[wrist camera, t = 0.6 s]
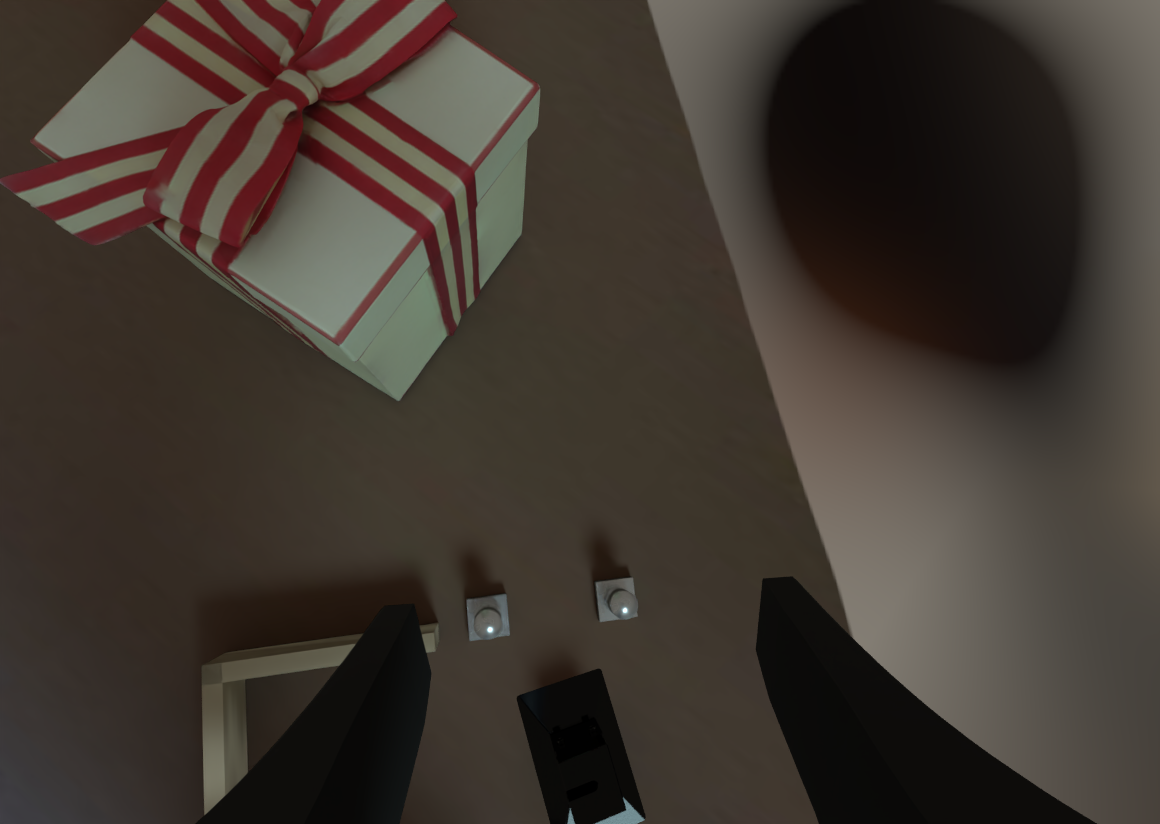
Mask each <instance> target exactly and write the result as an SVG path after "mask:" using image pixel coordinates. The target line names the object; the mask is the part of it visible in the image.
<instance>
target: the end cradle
mask: <svg viewBox="0 0 1160 824" xmlns="http://www.w3.org/2000/svg"><path fill="white" fill-rule="evenodd" d="M420 629H421V633H422V637H423V641H424V645H425V649H426V652H433V651H436V648H437V645H438V643H439V640H440V638H439V624H438V623H433V624H426V625H420ZM362 635H363V633H362V634H355V635H348V636H341V637H334V638H326V639H319V640H312V641H305V642H298V643H291V644H284V645H276V646H269V647H262V648H255V649H248V650H241V651H234V652H227V653H224V654H222V655H220V656H219V657H217V658H215V659H213V660H211V661H209V662H207V663H206V664H204V665H202V666H201V670H202V719H203V769H204V815H205V814H206V813H208V812H209V811H210V810H211V809H212V808H213V807H214V806H215V805H216V804H217V803H218V802H219V801H220V800H221V799H222V798H223V797H224V796H225V795H226V794H227V793H228V792H229V791H230V790H231V789H232V788H233V787H234V786H235V785H236V784H237V783H238V782H239V781H240V780H241V779H242V778H243V777H244V776H245V775H246V774H247V773H248V756H247V723H246V689H245V679H250V678H257V677H264V676H271V675H277V674H284V673H291V672H298V671H304V670H311V669H318V668H325V667H332V666H338V665H340V664H341V663H342V662H343V660H344V659H345V658H346V656H347V655H348V654H349V652H350V651H351V650H352V648H353V647H354V646H355V644H356V643H357V642H358V640H359V639H360V638H361V636H362Z"/></svg>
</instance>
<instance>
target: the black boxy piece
mask: <svg viewBox="0 0 1160 824" xmlns="http://www.w3.org/2000/svg"><path fill="white" fill-rule="evenodd" d="M517 702H518V706H519V710H520V713H521V717H522V721H523V724H524V728H525V732H526V735H527V739H528V743H529V746H530V750H531V754H532V758H533V761H534V765H535V769H536V772H537V776H538V780H539V783H540V787H541V791H542V794H543V798H544V802H545V806H546V809H547V813H548V817H549V820H550V824H637V823H639V822H641V821H643V820H645V813H644V810H643V806H642V803H641V800H640V796H639V793H638V790H637V786H636V783H635V780H634V776H633V773H632V770H631V767H630V763H629V760H628V757H627V753H626V750H625V747H624V743H623V740H622V737H621V733H620V730H619V727H618V724H617V720H616V717H615V714H614V710H613V707H612V704H611V700H610V697H609V694H608V690H607V687H606V684H605V681H604V677H603V674H602V671H601V669H596V670H593V671H590V672H587V673H584V674H581V675H578V676H575V677H572V678H569V679H566V680H563V681H560V682H557V683H554V684H551V685H548V686H545V687H542V688H539V689H536V690H533V691H530V692H527V693H524V694H522V695H519V696H518V697H517Z"/></svg>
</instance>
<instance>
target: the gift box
mask: <svg viewBox="0 0 1160 824" xmlns="http://www.w3.org/2000/svg"><path fill="white" fill-rule="evenodd" d="M455 18H457V14H456V13H455V12H454V11H453V9H452V8H451V7H450V6H449V5H448V3H447V2H446V1H445V0H167V1H166V2H165V3H164V4H163V5H162V6H161V7H160V8H159V9H158V10H157V11H156V12H155V13H154V14H153V15H152V16H151V17H150V18H149V19H148V20H147V21H146V23H145V24H144V25H143V26H142V27H141V28H139V29H138V30H137V31H136V32H135V33H134V34H133V35H132V36H131V37H130V40H129V41H128V43H127V44H126V45H125V46H123V47H122V48H121V49H120V50H119V51H118V52H117V53H116V54H115V55H114V56H113V57H112V58H111V59H110V60H109V61H108V62H107V63H106V64H105V65H104V66H103V67H102V68H101V69H100V70H99V71H98V72H97V73H96V74H95V75H94V76H93V77H92V78H91V79H90V80H89V81H88V82H87V83H86V84H85V85H84V86H83V87H82V88H81V89H80V90H79V91H78V92H77V93H76V94H75V95H74V96H73V97H72V98H71V99H70V100H69V101H68V102H67V103H66V104H65V105H64V106H63V107H62V108H61V109H60V110H59V111H58V112H57V113H56V114H55V115H54V116H53V117H52V118H51V119H50V120H49V122H48V123H47V124H46V125H45V126H44V127H43V128H42V129H41V130H40V131H39V132H38V133H37V134H36V135H35V136H34V137H33V138H32V139H31V140H30V142H31V143H32V144H33V145H34V146H36V147H37V148H38V149H39V150H40V151H42V152H43V153H44V154H45V155H46V156H47V157H49V158H50V159H51V160H52V161H54V162H55V163H52V164H48V165H45V166H42V167H39V168H36V169H33V170H29V171H25V172H21V173H16V174H13V175H9V176H5V177H3V178H0V184H2V185H3V186H5V187H6V188H8V189H9V190H10V191H12V192H13V193H14V194H15V195H17V196H18V197H20V198H22V199H24V200H26V201H27V202H29V203H30V205H31V207H35V208H36V209H37V210H39V211H41V212H43V213H44V214H46V215H47V216H48V217H50V218H51V219H52V220H54V221H55V222H56V224H58V225H60V226H61V227H62V228H64V229H65V230H67V231H69V232H70V233H71V234H72V235H75V236H77V237H78V238H80V239H81V240H84V241H85V242H87V243H89V244H91V245H99V244H103V243H106V242H109V241H111V240H114V239H117V238H119V237H122V236H124V235H126V234H129V233H131V232H133V231H136V230H138V229H140V228H142V227H144V226H148V227H149V228H150V229H151V230H153V231H154V232H155V233H156V234H158V235H159V236H160V237H161V238H162V239H164V240H165V241H166V242H167V243H169V244H170V245H171V246H172V247H173V248H175V249H176V250H177V251H178V252H180V253H181V254H182V255H183V256H185V257H186V258H187V259H188V260H190V261H191V262H192V263H193V264H194V265H195V266H197V267H198V268H199V269H200V270H201V271H203V272H204V273H205V274H207V275H208V276H209V277H210V278H211V279H213V280H215V281H216V282H217V283H219V284H220V285H222V286H223V287H225V288H226V289H228V290H229V291H231V292H232V293H233V294H235V295H236V296H238V297H239V298H241V299H242V300H244V301H245V302H247V303H248V304H250V305H251V306H253V307H254V308H256V309H257V310H259V311H260V312H262V313H263V314H265V315H266V316H268V317H269V318H271V319H272V320H273V321H274V322H275V323H276V324H278V325H279V326H281V327H282V328H283V329H285V330H286V331H288V332H289V333H290V334H292V335H293V336H295V337H296V338H297V339H299V340H301V341H302V342H304V343H305V344H307V345H309V346H310V347H312V348H314V349H315V350H317V351H318V352H320V353H322V354H323V355H325V356H327V357H328V358H330V359H332V360H334V361H336V362H337V363H339V364H340V365H342V366H343V367H345V368H346V369H348V370H350V371H351V372H353V373H354V374H356V375H357V376H359V377H361V378H362V379H364V380H365V381H367V382H368V383H370V384H372V385H373V386H375V387H376V388H378V389H380V390H381V391H383V392H384V393H386V394H388V395H389V396H391V397H393V398H394V399H396V400H397V401H400V400H401V399H402V397H403V396H404V395H405V393H406V392H407V390H408V389H409V388H410V386H411V385H412V384H413V382H414V381H415V380H416V378H417V377H418V375H419V374H420V372H421V371H422V369H423V368H424V366H425V365H426V364H427V362H428V361H429V360H430V358H431V357H432V355H433V354H434V353H435V351H436V350H437V349H438V347H439V346H440V345H441V343H442V342H443V341H444V339H445V338H446V337H447V336H452V335H453V334H454V332H455V330H456V329H457V326H458V324H459V321H460V319H461V316H462V315H463V313H464V312H465V310H466V309H467V308H468V307H469V306H470V305H471V304H472V302H473V301H474V300H475V299H476V298H477V296H478V295H479V293H480V290H481V288H482V287H483V285H484V284H485V283H486V281H487V280H488V279H489V277H490V276H491V275H492V273H493V272H494V270H495V269H496V268H497V266H498V265H499V264H500V262H501V261H502V260H503V258H504V257H505V256H506V254H507V253H508V252H509V250H510V249H511V248H512V246H513V245H514V243H515V242H516V241H517V239H518V238H519V237H520V236H521V233H522V220H523V205H524V188H525V172H526V156H527V139H528V138H529V137H530V136H531V134H532V133H533V132H534V131H535V129H536V128H537V125H538V114H539V99H540V86H539V85H538V84H537V83H536V82H535V81H533V80H532V79H530V78H529V77H527V76H526V75H524V74H523V73H521V72H520V71H518V70H517V69H515V68H514V67H512V66H511V65H509V64H508V63H506V62H505V61H503V60H502V59H500V58H499V57H497V56H496V55H494V54H493V53H492V52H490V51H489V50H487V49H486V48H484V47H483V46H481V45H480V44H478V43H476V42H475V41H473V40H472V39H470V38H469V37H467V36H466V35H464V34H463V33H461V32H460V31H458V30H457V29H455V28H454V27H452V26H451V25H450V22H451V21H452V20H454V19H455Z"/></svg>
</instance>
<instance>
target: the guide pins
mask: <svg viewBox="0 0 1160 824" xmlns="http://www.w3.org/2000/svg"><path fill="white" fill-rule="evenodd" d="M594 586H595V595H596V604H597V613H598V620H599V621H600V622H603V621H610V620H617V619H624V620H625V619H630V618H632V617H637V610H638V601H637V599H636V597H635V592H634V584H633V577H631V576H630V577H622V578H615V579H607V580H600V581H594ZM466 601H467V614H468V626H469V638H470V641H473V640H480V639H485V640H489V639H493V638H495V637H500V636H507V635H510V632H509V621H508V610H507V599H506V593H504V594H496V595H489V596H481V597H474V598H467V599H466Z"/></svg>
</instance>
